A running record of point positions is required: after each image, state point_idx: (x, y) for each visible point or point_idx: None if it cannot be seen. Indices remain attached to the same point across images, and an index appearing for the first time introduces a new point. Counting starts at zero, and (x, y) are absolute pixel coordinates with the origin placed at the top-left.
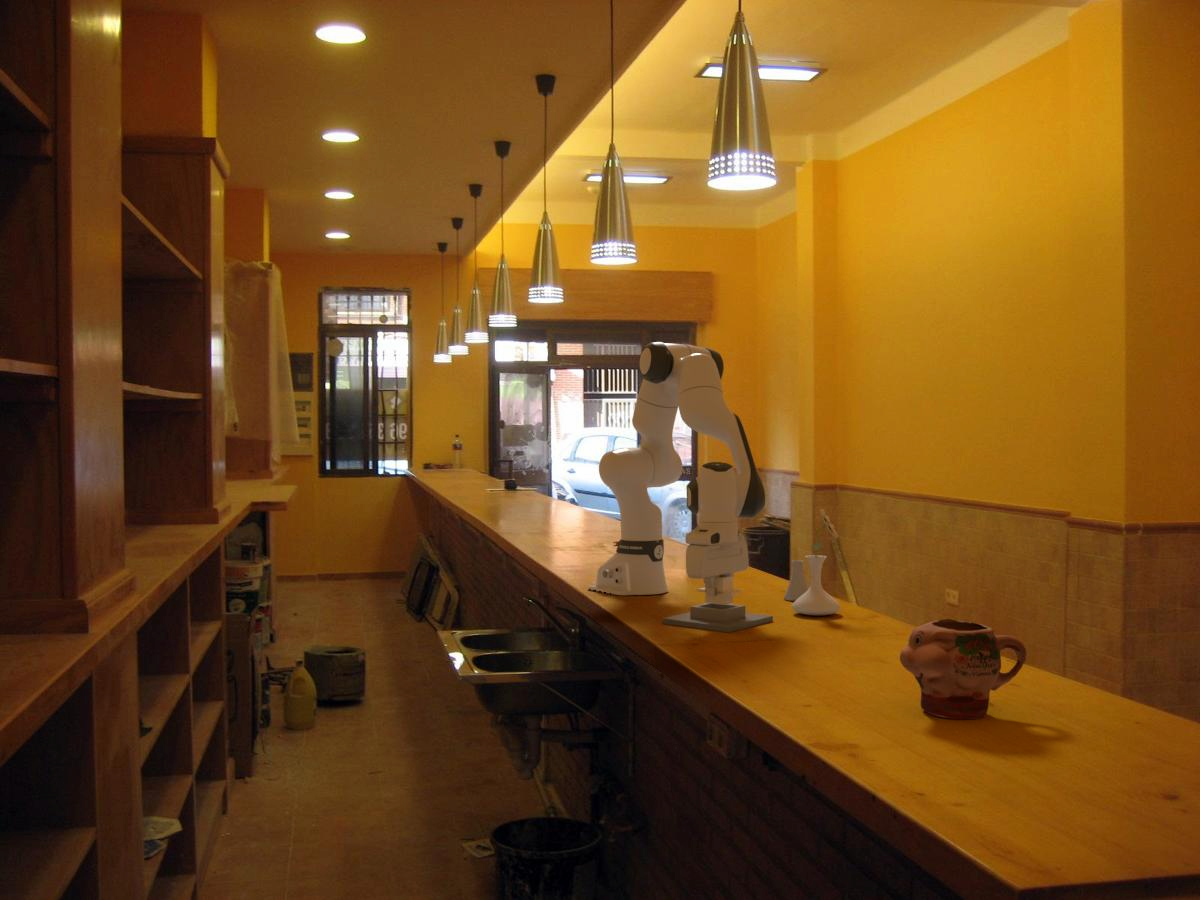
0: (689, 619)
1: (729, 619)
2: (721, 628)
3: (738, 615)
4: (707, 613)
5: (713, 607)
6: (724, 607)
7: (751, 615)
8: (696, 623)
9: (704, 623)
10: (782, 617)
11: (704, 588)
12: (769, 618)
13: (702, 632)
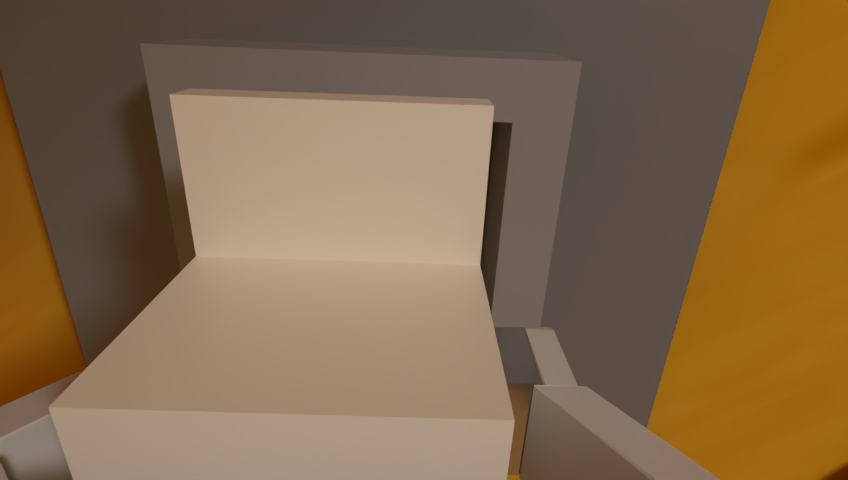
0: (109, 98)
1: None
2: None
3: None
4: None
5: (503, 122)
6: (492, 254)
7: (581, 378)
8: (52, 231)
9: (80, 293)
10: (784, 431)
11: (293, 178)
12: None
13: (8, 323)
